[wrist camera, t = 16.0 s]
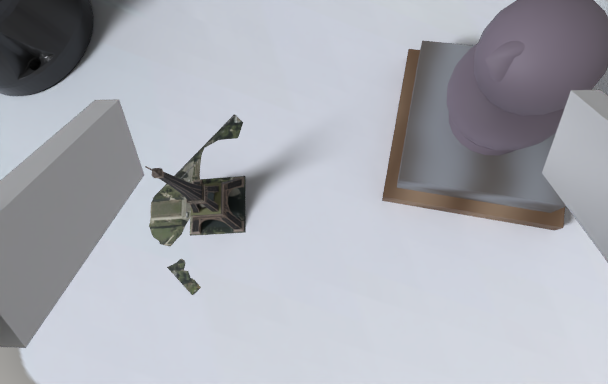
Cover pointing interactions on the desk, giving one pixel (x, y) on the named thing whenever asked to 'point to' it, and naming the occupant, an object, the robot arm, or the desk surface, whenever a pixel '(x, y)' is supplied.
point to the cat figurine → (526, 73)
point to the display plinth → (460, 155)
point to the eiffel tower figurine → (198, 203)
